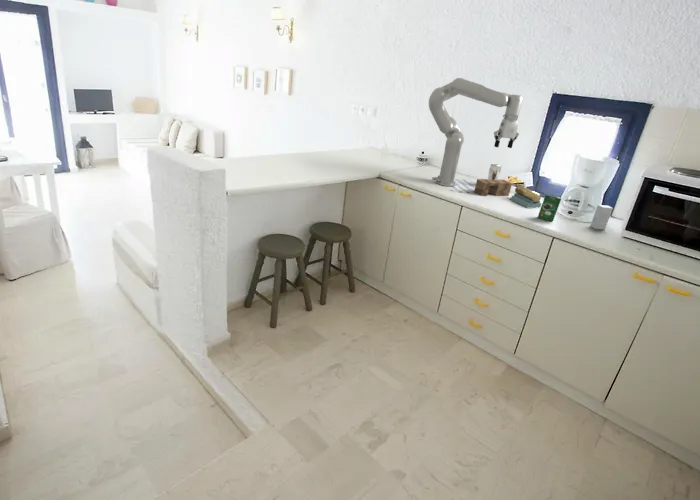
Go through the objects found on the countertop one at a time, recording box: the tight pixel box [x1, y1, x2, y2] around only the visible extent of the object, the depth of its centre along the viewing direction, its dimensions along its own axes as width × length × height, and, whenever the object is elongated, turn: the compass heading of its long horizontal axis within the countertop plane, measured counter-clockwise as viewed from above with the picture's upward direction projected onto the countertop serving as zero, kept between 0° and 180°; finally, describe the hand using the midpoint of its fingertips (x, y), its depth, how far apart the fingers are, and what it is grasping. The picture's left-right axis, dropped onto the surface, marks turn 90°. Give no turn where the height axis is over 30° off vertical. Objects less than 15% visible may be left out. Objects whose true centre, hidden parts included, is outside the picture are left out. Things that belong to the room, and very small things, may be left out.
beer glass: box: [487, 163, 502, 180], centre depth 265 cm, size 7×7×15 cm
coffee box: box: [537, 193, 562, 222], centre depth 217 cm, size 8×3×13 cm, turn 62°
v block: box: [510, 192, 543, 209], centre depth 242 cm, size 10×14×4 cm
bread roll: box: [514, 184, 542, 202], centre depth 241 cm, size 16×5×5 cm, turn 20°
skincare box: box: [589, 204, 614, 230], centre depth 214 cm, size 6×4×12 cm
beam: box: [473, 178, 513, 197], centre depth 253 cm, size 20×8×8 cm, turn 110°
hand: (502, 147), depth 245 cm, fingers open, 9 cm apart
